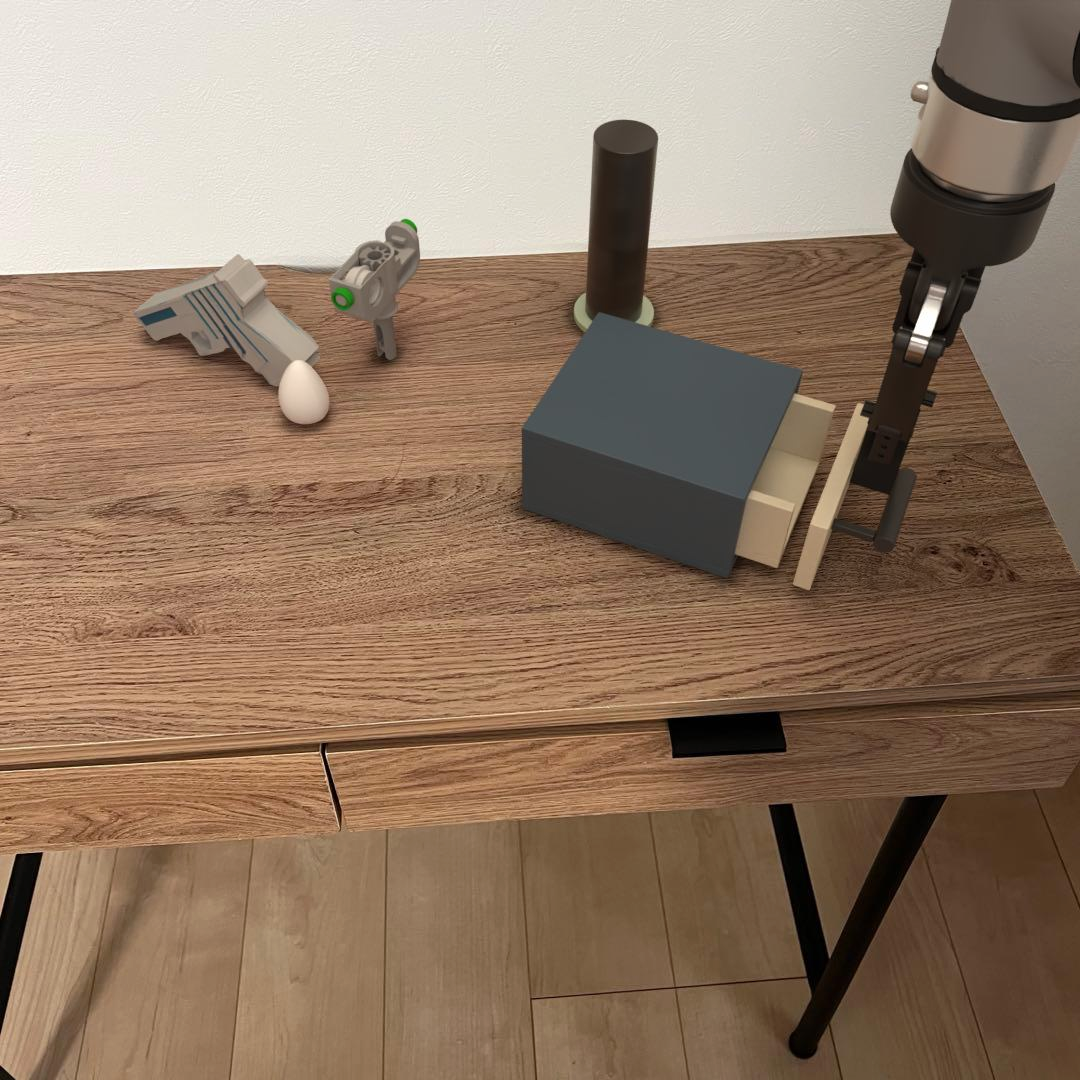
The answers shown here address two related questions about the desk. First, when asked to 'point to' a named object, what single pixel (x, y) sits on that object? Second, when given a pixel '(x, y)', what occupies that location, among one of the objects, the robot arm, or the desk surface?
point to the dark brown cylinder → (620, 217)
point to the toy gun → (230, 319)
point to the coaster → (585, 321)
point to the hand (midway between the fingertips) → (872, 481)
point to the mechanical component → (378, 281)
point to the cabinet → (654, 440)
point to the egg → (303, 394)
